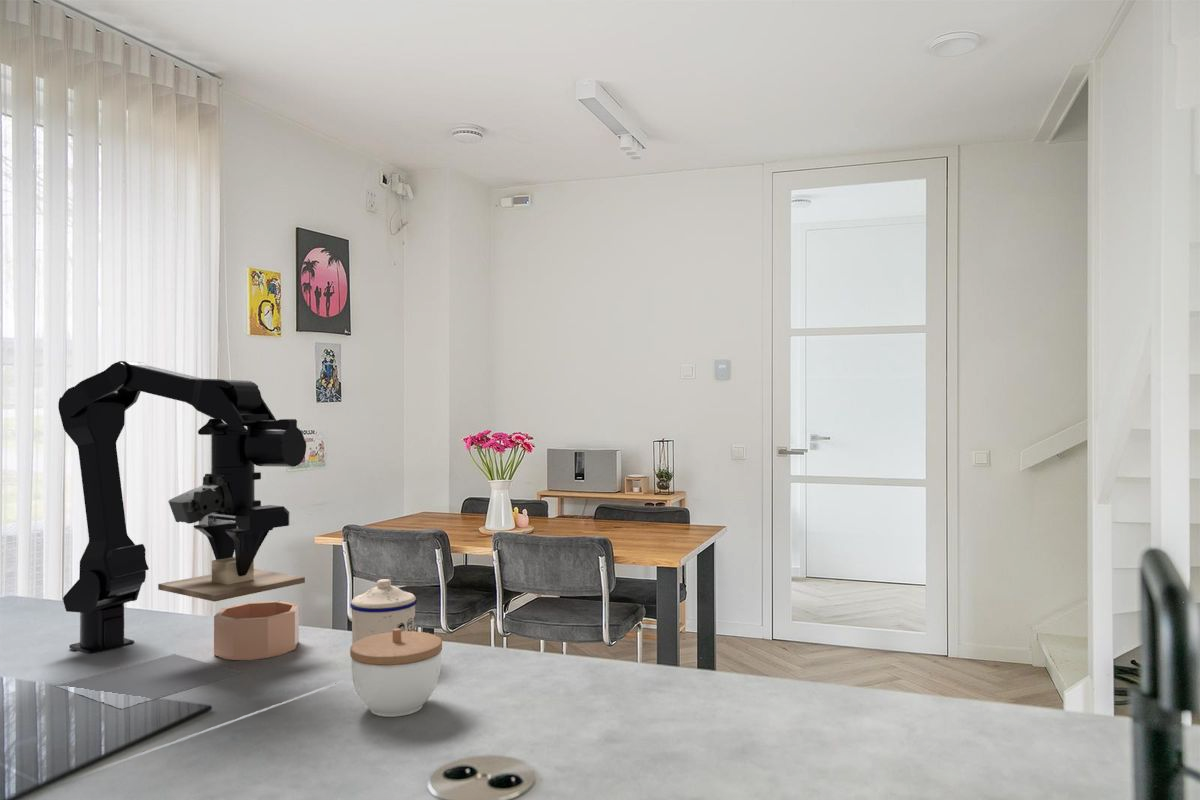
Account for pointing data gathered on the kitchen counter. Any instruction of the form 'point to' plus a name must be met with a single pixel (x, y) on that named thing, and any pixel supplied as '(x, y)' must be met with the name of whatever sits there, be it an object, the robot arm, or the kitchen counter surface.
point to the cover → (230, 582)
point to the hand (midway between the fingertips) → (233, 574)
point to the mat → (155, 677)
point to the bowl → (256, 630)
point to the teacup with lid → (382, 611)
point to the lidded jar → (396, 671)
